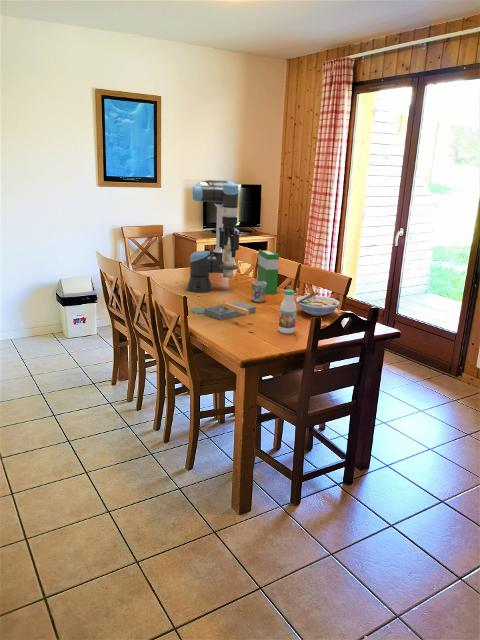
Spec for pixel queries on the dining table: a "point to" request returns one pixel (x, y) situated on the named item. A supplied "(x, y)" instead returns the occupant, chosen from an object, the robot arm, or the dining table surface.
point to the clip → (233, 307)
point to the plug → (227, 263)
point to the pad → (198, 310)
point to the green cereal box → (268, 270)
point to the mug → (258, 291)
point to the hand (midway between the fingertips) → (228, 262)
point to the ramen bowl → (317, 304)
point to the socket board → (228, 311)
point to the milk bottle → (287, 313)
